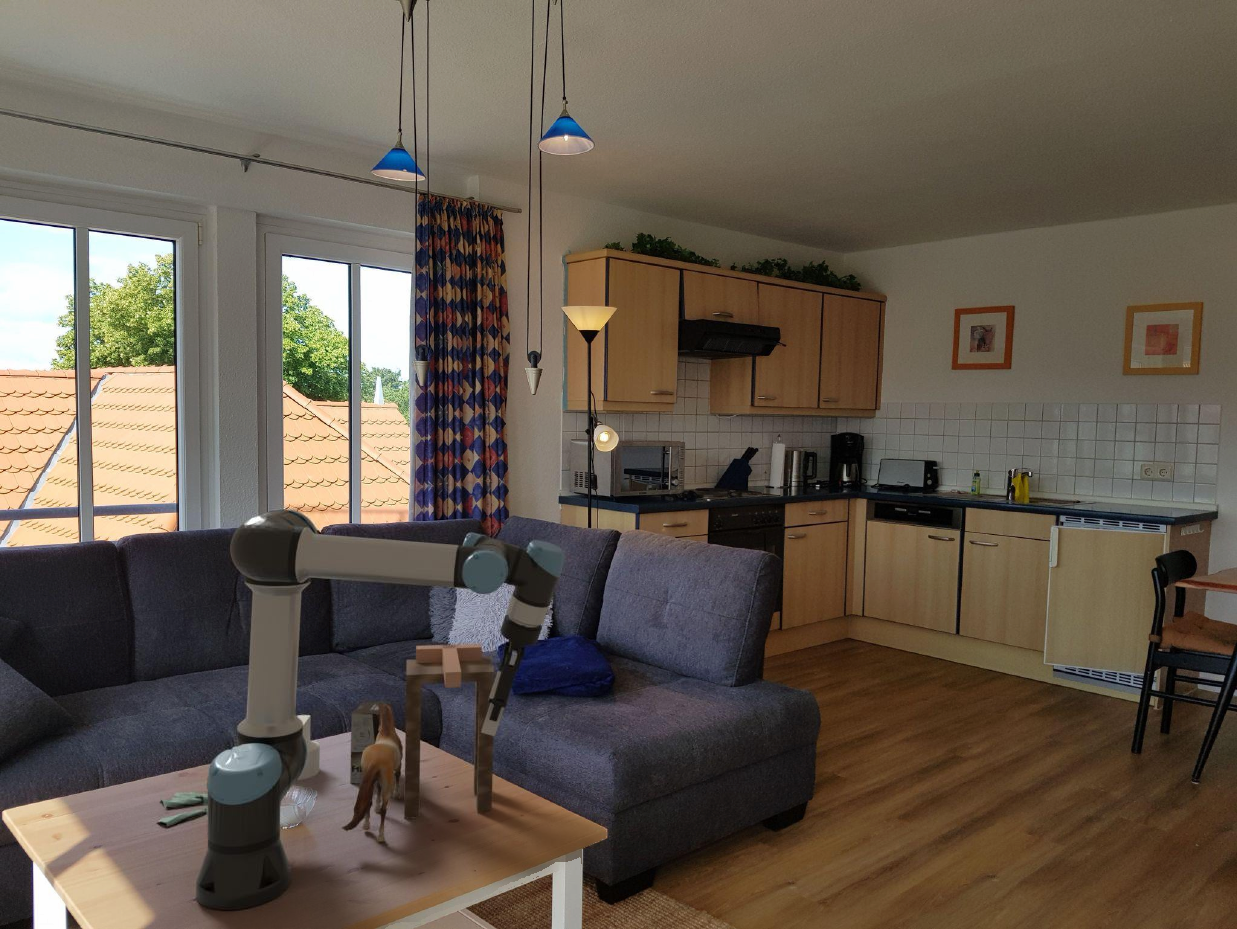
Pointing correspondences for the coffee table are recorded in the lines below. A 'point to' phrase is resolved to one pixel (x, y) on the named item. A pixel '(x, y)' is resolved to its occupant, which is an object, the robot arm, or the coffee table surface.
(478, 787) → the walnut table
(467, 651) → the terracotta T
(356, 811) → the horse figurine
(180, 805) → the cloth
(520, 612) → the robot arm
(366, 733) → the coffee box
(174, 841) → the coffee table surface
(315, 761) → the cylinder with rectangular tab
